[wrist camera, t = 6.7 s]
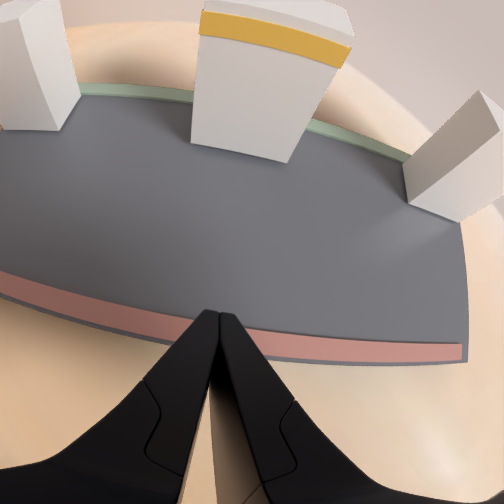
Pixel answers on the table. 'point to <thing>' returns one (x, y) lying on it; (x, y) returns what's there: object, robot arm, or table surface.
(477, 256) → the table surface
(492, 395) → the table surface
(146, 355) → the table surface
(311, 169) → the grey tray with blocks
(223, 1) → the yellow-banded white block
